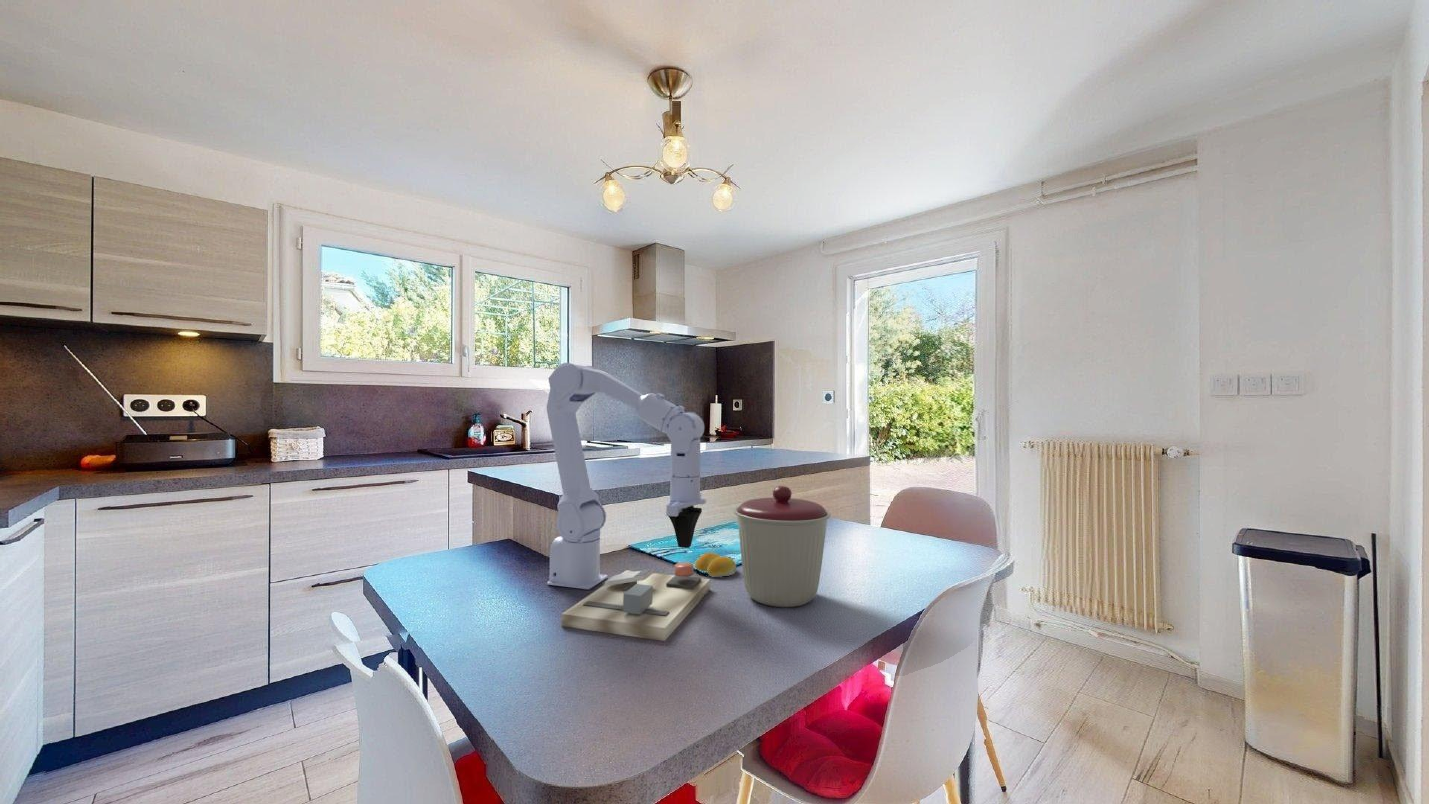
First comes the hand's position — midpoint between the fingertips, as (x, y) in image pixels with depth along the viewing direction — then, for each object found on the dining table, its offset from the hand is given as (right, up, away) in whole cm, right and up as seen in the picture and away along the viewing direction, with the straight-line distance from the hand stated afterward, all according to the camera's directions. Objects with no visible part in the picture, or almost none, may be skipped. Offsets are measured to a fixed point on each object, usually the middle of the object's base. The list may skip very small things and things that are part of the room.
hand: (684, 546), depth 103 cm
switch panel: (-7, -9, -6) cm, 13 cm away
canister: (+18, -10, -1) cm, 21 cm away
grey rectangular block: (-7, -6, -14) cm, 17 cm away
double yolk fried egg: (+6, -10, +14) cm, 18 cm away
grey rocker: (-10, -6, -2) cm, 12 cm away
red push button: (0, -5, 0) cm, 5 cm away
